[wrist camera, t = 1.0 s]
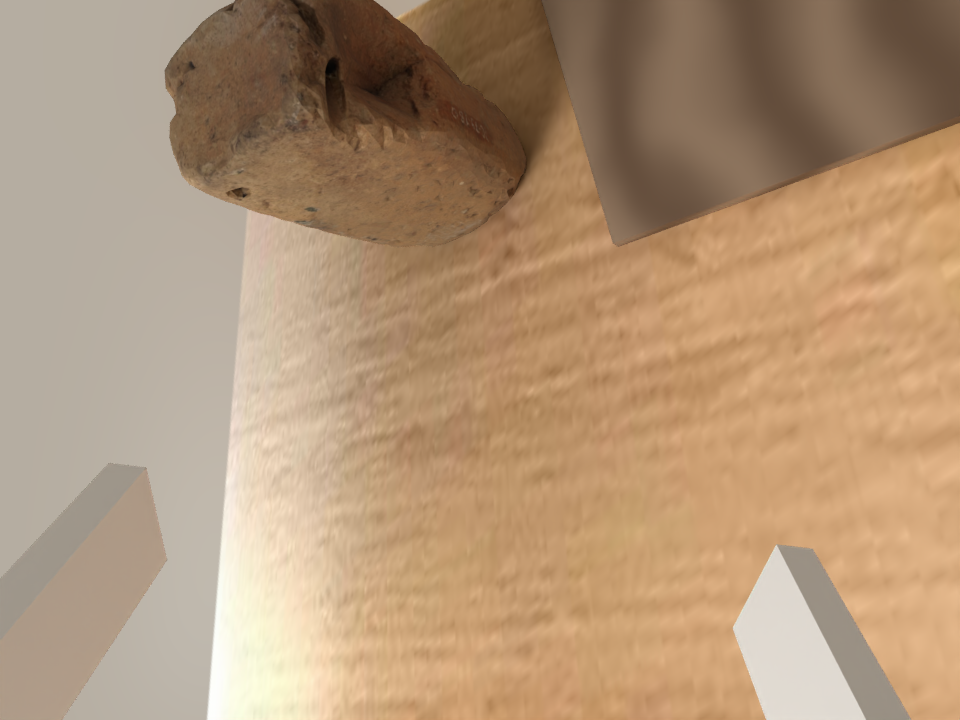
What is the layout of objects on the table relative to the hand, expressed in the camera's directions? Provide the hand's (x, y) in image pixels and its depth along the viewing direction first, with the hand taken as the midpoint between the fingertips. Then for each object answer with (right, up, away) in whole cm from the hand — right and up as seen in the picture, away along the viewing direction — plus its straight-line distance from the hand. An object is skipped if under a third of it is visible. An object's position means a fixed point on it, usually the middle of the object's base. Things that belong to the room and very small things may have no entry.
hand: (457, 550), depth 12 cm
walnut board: (+16, +23, +20) cm, 34 cm away
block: (-1, +16, +29) cm, 33 cm away
